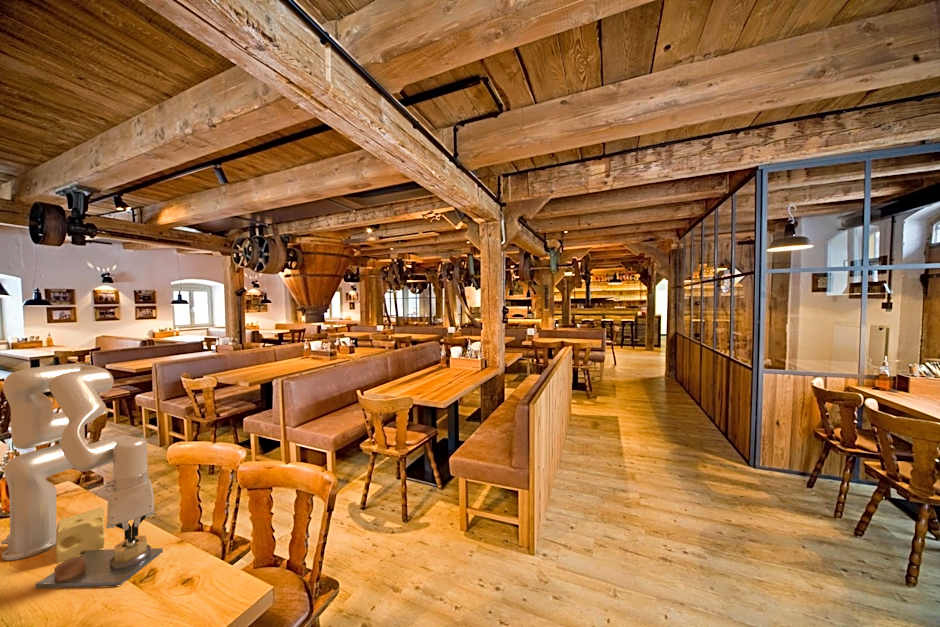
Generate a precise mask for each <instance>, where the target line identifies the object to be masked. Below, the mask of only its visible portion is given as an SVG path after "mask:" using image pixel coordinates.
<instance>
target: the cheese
mask: <svg viewBox="0 0 940 627" xmlns="http://www.w3.org/2000/svg"><path fill="white" fill-rule="evenodd" d="M104 532H105V509H104V506H100V507H97V508H94V509H92V510H89V511H86V512H82V513H79V514H75V515H72V516H68V517H65V518H61V519H59V520H58V524H57V525H56V545H55V548H56V549H55V558H56V562H57V563H59V564H60V563H62V562H64V561H66V560H68V559H71V558H74V557H79V556H80V555H82V554H84V553H85V552H87V551H88V550H102V548H104V546H105V541H106V539H105V533H104Z"/></svg>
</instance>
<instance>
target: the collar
mask: <svg viewBox="0 0 940 627" xmlns="http://www.w3.org/2000/svg"><path fill="white" fill-rule="evenodd" d="M131 538H132V536H131ZM127 540H128V539H126V540H125V539H123V540H122V541H120V542H119V543H117V544H115V545H114V546H113V547H114V561H115V563H120V562H127V561H130V560H132V559H135V558H138V557H139V556H140V555H142V554H143V553H144V552H146V551H147V545H148V544H147V540H148V539H147V535H138V536H135V545H132V546H129V547H126V541H127Z"/></svg>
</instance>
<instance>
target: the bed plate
mask: <svg viewBox="0 0 940 627" xmlns="http://www.w3.org/2000/svg"><path fill="white" fill-rule="evenodd" d="M160 553H161V554H162V553H163V547H162V548H161V547H160V548H157V547H156V548H152V547H151V554H150V555H149V556H148V557H147V558H146V559H145V560H144V561H142V562H140V563H138V564H136V565H134V566H132V567H129V568H125V569H121V570H112V569H111V568H110V560H111V559H112V557H114V549H98V550H88V551H87V552H83V553H81V554H79V556H85V557H86V570H85V571H84V572H82V573H81V574H80V575H78V576H76V577H74V578H71V579H69V580H65V581H61V582H57V581H55V571H54V572H52V573H51V574H49V575H47V576H46V577H45V578H43V579H41V580H40V581H38V582H37V583H35V585H34V587H35V588H34V589H35V590H36V589H65V588H67V589H70V588H101V587H100V586H111V587H117V586H116V585H121V584H122V583H123V582H124V581H126V582H127V581H128V580H130V579H131V578H132V577H133V576H134V575H136V574H137V573H139V572H140V571H141V570H142V569H143V568H144V567H146V566H147V565H148V564H149V563H151V562H152V561H153V560H154V559H156V558H157V557H158V556H160ZM124 583H125V582H124ZM124 583H123V584H124ZM123 584H122V585H123ZM122 585H121V586H122Z"/></svg>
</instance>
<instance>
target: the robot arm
mask: <svg viewBox="0 0 940 627" xmlns="http://www.w3.org/2000/svg"><path fill="white" fill-rule="evenodd" d="M114 381H115V379H114V377H113V375H112V373H111V372H110V371H108V369H106V368H104V367H100V366H95V365H90V364H85V363H77V362H76V363H75V362H74V363H66V364H65V363H64V364H57V365H46V366H38V367H37V366H36V367H29V368H23V369H19V370H16V371H14V372H12V373H10V374H8V376H6V378H5V379H4V382H3V384H2V386H3V387H2V388H3V389H2V390H3V393H4V397H5V399H6V400H7V403H8V404H9V408H10V429H11V430H10V431H11V433H10V434H11V442H12V445H13V447H14V448H16V449H19V450H28V449H32V448H37V447H41V446H46V445H47V444H53V443H56V442H58V444H55V445H51V446H46V447H44V448H43V447H42V448H39V449H36V450H32V451H27V452H26V453H22V454H20V455H17V456H15V457H14V458H12V459H10V460H9V461H8V462H7V463H6V464H5V467H4V471H3V472H4V476H5V480H6V482H7V486H8V495H9V534H8V535H7V536H6V538H5V539H3V540H1V542H0V545H7V548H6V549H5V550H4V551H3V552H2V554H1V559H2V560H5V561H16V560H22V559H26V558H29V557H32V556H35V555H38V554H40V553H43V552H45V551H47V550H49V549H51V548H53V547H56V530H57V488H56V486H55V485H54V483H52V482H50V481H48V480H47V478H48V477H51V476H53V475H56V474H60V473H62V472H65V471H67V470H71V469H75V470H76V471H78V472H89V471H92V470H95V469H97V468H101V467H103V466H107V465H109V464H111V463H112V469H113V470H112V474H113V476H112V478H113V479H112V480H110V481H108V482H106V488H109V487H111V489H110V491H109V492H108V499H107V512H106V514H107V516H106V517H107V518H106V519H107V521H106V525H105V528H106V529H114V528H118V529H121V530H123V531H124V540H126V539H128V543H129V542H131V537H132V541H135V536H139V526H140V525H141V523H142V522H143V521H144V520H145V519H146V518H148V517H151V516H152V515H154V514H155V513H156V511H155V498H154V489H153V488H154V487H153V483H152V480H151V479H150V478H149V477H148V442H147V439H146V438H144V437H135V436H134V437H133V436H131V435H130V434H129V435H128V434H120V435H117V436H112V437H110V438H105V439H102V440H99V441H95V442H92V443H88V444H86V438H85V435H86V434H85V431H86V430H85V427H86V426H85V425H87V424H89V423H91V422H93V421H94V420H96V419H97V418H100V416H102V415H103V414H104V413H105V411H106V410H107V406H106V403H105V402H104V401H103V400H102V397H101V396H100V394H101V393H104V392H105V393H106V392H108V391H110V390H111V389H112V387H113V386H114ZM48 392H49V393H51V395H52V396H53V398H54V400H55V401H56V403H57V404H58V406H59V408H60V410H62V412H61V411H60V412H57V413H53V402H52V400H51V399H50V397H48V396H47V395H46V394H45V393H48ZM129 521H133V522H132V525H131V524H130V523H129Z"/></svg>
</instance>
